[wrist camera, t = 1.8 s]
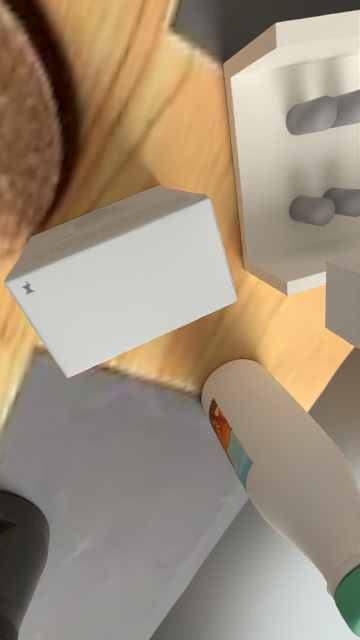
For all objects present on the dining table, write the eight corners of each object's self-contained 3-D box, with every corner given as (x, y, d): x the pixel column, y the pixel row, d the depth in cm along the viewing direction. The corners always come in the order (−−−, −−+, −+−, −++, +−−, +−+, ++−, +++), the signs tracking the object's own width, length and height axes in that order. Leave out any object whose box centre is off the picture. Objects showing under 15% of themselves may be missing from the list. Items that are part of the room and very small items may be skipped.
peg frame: (244, 270, 29) (287, 295, 23) (223, 64, 23) (275, 22, 16) (369, 235, 31) (440, 250, 25) (384, 36, 25) (484, -10, 19)
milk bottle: (209, 354, 32) (365, 577, 14) (276, 358, 34) (481, 553, 17) (191, 419, 35) (305, 674, 17) (255, 418, 37) (413, 641, 19)
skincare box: (71, 311, 27) (66, 384, 18) (29, 236, 24) (-5, 276, 15) (188, 260, 28) (242, 304, 18) (161, 182, 25) (209, 188, 15)
